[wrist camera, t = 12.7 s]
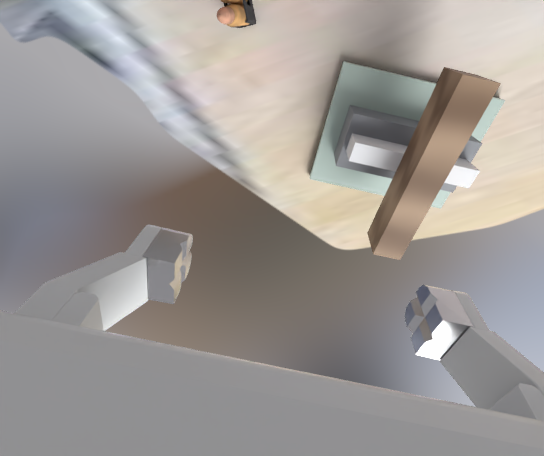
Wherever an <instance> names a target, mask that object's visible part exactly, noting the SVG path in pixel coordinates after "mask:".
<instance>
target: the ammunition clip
mask: <svg viewBox="0 0 544 456" xmlns="http://www.w3.org/2000/svg"><path fill="white" fill-rule="evenodd" d="M221 1H222V2H224V6H225V7H222V8H220V9H219V10H218V12H217V18H218V20H219V21H220V22H221V23H223V24H227V25H228V26H230V27H237V28H243V27H246V26H250V25H254V24H256V18H255V14H254V9H253V4H252V0H221ZM227 3H229V4H227Z"/></svg>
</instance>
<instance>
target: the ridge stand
mask: <svg viewBox="0 0 544 456" xmlns="http://www.w3.org/2000/svg"><path fill="white" fill-rule="evenodd" d="M436 84H437V83H434V82H430V81H426V80H421V79H417V78H413V77H409V76H405V75H400V74H396V73H392V72H388V71H384V70H379V69H375V68H371V67H367V66H363V65H358V64H354V63H350V62H346V61H343V63H342V67H341V70H340V74H339V77H338V81H337V84H336V87H335V91H334V94H333V98H332V101H331V104H330V108H329V111H328V115H327V118H326V122H325V125H324V128H323V132H322V135H321V139H320V142H319V146H318V149H317V152H316V156H315V159H314V163H313V166H312V169H311V173H310V179H312V180H316V181H321V182H325V183H330V184H334V185H339V186H343V187H348V188H352V189H356V190H361V191H365V192H370V193H374V194H379V195H383V196H385V194H386V192H387V190H388V188H389V185H390V183H391V181H392V179H393V177H394V175H395V172H396V170H397V168H398V166H399V164H400V162H401V159H402V157H403V155H404V153H405V151H406V149H407V146H408V144H409V142H410V140H411V138H412V136H413V133H414V131H415V129H416V127H417V125H418V123H419V121H420V118H421V116H422V114H423V112H424V110H425V108H426V105H427V103H428V101H429V99H430V97H431V95H432V92H433V90H434V88H435V86H436ZM504 102H505V100H503V99H500V98H497V97H493V98H492V100H491V101H490V103H489V105H488V107H487V108H486V110H485V112H484V114H483V115H482V117H481V119H480V121H479V122H478V124H477V126H476V128H475V130H474V131H473V133H472V135H471V137H470V138H469V140H468V142H467V144H466V145H465V147H464V149H463V151H462V152H461V154H460V156H459V158H458V159H457V161H456V163H455V165H454V166H453V168H452V170H451V172H450V173H449V175H448V177H447V179H446V180H445V182H444V184H443V186H442V187H441V189H440V191H439V193H438V194H437V196H436V198H435V200H434V201H433V203H432V205H431V206H432V207H436V208H442V206H443V204H444V202H445V201H446V199H447V197H448V196H449V194H450V192H452V193H453V191H454V190H455V188H456V186H461V187H465V188H470V186H471V184H472V183H473V181H474V180H475V178H476V176H477V175H478V173H479V172H480V171H479V170H478V169H477V168H476V167H475V166H474V165H473V164H471V161H472V160H473V158H474V156H475V155H476V153H477V151H478V150H479V148H480V146H481V145H482V143H481V140H482V139H483V137H484V135H485V133H486V132H487V130H488V128H489V127H490V125H491V123H492V122H493V120H494V118H495V117H496V115H497V113H498V112H499V110H500V108H501V107H502V105H503V103H504Z"/></svg>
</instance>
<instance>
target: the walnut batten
mask: <svg viewBox="0 0 544 456" xmlns="http://www.w3.org/2000/svg"><path fill="white" fill-rule="evenodd" d="M500 84H501V83H498V82H495V81H492V80H489V79H487V78H484V77H481V76H478V75H474V74H470V73H466V72H462V71H458V70H454V69H450V68H445V67H444V69H443V71H442V73H441V75H440V77H439V79H438V82H437V84H436V86H435V88H434V90H433V92H432V95H431V97H430V99H429V101H428V103H427V105H426V108H425V110H424V112H423V114H422V116H421V118H420V121H419V123H418V125H417V127H416V129H415V131H414V133H413V136H412V138H411V140H410V142H409V144H408V146H407V149H406V151H405V153H404V155H403V157H402V159H401V162H400V164H399V166H398V168H397V170H396V172H395V175H394V177H393V179H392V181H391V183H390V185H389V188H388V190H387V192H386V194H385V196H384V198H383V200H382V203H381V205H380V207H379V209H378V211H377V213H376V216H375V218H374V220H373V222H372V224H371V226H370V229H369V231H368V237H369V240H370V244H371V248H372V251H373V254H375V255H380V256H385V257H389V258H394V259H398V260H400V259H401V257H402V256H403V254H404V252H405V250H406V249H407V247H408V245H409V243H410V242H411V240H412V238H413V236H414V235H415V233H416V231H417V229H418V228H419V226H420V224H421V222H422V221H423V219H424V217H425V215H426V214H427V212H428V210H429V208H430V207H431V205H432V203H433V201H434V200H435V198H436V196H437V194H438V193H439V191H440V189H441V187H442V186H443V184H444V182H445V180H446V179H447V177H448V175H449V173H450V172H451V170H452V168H453V166H454V165H455V163H456V161H457V159H458V158H459V156H460V154H461V152H462V151H463V149H464V147H465V145H466V144H467V142H468V140H469V138H470V137H471V135H472V133H473V131H474V130H475V128H476V126H477V124H478V122H479V121H480V119H481V117H482V115H483V114H484V112H485V110H486V108H487V107H488V105H489V103H490V101H491V100H492V98H493V96H494V94H495V93H496V91H497V89H498V87H499V86H500Z"/></svg>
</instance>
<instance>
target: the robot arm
mask: <svg viewBox="0 0 544 456" xmlns="http://www.w3.org/2000/svg"><path fill="white" fill-rule="evenodd" d="M192 238H193V237H192V235H191V234H187V233H183V232H179V231H175V230H171V229H167V228H162V227H157V226H153V225H147V226H145V228H144V229H143V230H142V231H141V233H140V234H139V235H138V237H137V238H136V239H135V240H134V242H133V243H132V244H131V245H130V247H129V248H128V249H127V251H126V252H125V253H121V252H120V253H117V254H115V255H112V256H110V257H107V258H105V259H102V260H100V261H97V262H95V263H93V264H90V265H87V266H85V267H82V268H80V269H77V270H75V271H72V272H70V273H68V274H65V275H63V276H60V277H58V278H55V279H53V280H50V281H48V282H46V283H44V284H43V285H42V286H41V287H40V288H39V289H38V290H37V291H36V292H35V293H34V294H33V295H32V296H31V297H30V298H29V299H28V300H27V301H26V302H25V303H24V304H23V305H22V306H21V307H20V308H19V309H18V310H17V311H16V312H15V313H12V312H7V311H2V310H0V456H544V372H542V371H541V370H540V369H539V368H538V367H536V366H535V365H534V364H533V363H532V362H530V361H529V360H528V359H527V358H525V357H524V356H523V355H522V354H521V353H519V352H518V351H517V350H516V349H514V348H513V347H512V346H511V345H510V344H508V343H507V342H506V341H505V340H504V339H502V338H501V337H500V336H499V335H497V334H496V333H495V332H493V331H490V330H489V329H488V327H487V325H486V323H485V322H484V320H483V318H482V317H481V315H480V313H479V311H478V310H477V308H476V306H475V305H474V303H473V301H472V299H471V298H470V296H469V295H468V294H466V293H463V292H458V291H453V290H451V291H450V290H446V289H441V288H436V287H432V286H427V285H422V286H421V287H419V288H418V290H417V291H416V295H417V298H415V299H413V300H411V301H410V302H409V304H408V305H407V307H406V311H405V322H406V325H407V327H408V328H409V330H410V331H411V332H412V333H413V334H412V336H411V341H412V344H413V347H414V350H415V353H416V355H420V356H425V357H429V358H433V359H437V360H440V362H441V363H442V365H443V366H444V367H445V369H446V370H447V371H448V372H449V374H450V375H451V376H452V377H453V379H454V380H455V381H456V382H457V384H458V385H459V386H460V387H461V388H462V390H463V391H464V392H465V393H466V395H467V396H468V397H469V398H470V400H471V401H472V402H473V403H474V405H475V406H476V407H473V406H467V405H463V404H458V403H453V402H448V401H443V400H439V399H434V398H429V397H424V396H419V395H414V394H409V393H404V392H399V391H395V390H389V389H385V388H380V387H375V386H370V385H365V384H360V383H355V382H351V381H345V380H341V379H336V378H331V377H326V376H321V375H316V374H311V373H306V372H301V371H297V370H291V369H287V368H282V367H277V366H272V365H267V364H262V363H257V362H253V361H248V360H243V359H238V358H233V357H228V356H223V355H218V354H213V353H208V352H203V351H199V350H194V349H189V348H184V347H179V346H174V345H169V344H164V343H159V342H154V341H150V340H144V339H140V338H135V337H130V336H125V335H120V334H115V333H110V332H105V330H106V329H108V328H109V327H111V326H112V325H114V324H115V323H117V322H118V321H119V320H121V319H122V318H124V317H125V316H127V315H128V314H130V313H131V312H132V311H134V310H135V309H137V308H138V307H140V306H141V305H142V304H144V303H145V302H147V301H148V299H149V300H154V301H160V302H165V303H171V304H174V302H175V300H176V298H177V296H178V294H179V292H180V289H181V282H182V281H184V280H185V279H186V276H187V274H188V271H189V268H190V263H191V256H192V254H191V252H190V251H189V250H190V247H191V246H192Z"/></svg>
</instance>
